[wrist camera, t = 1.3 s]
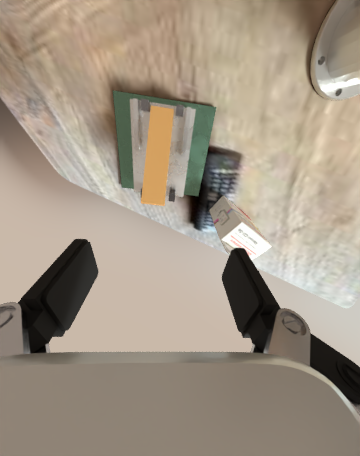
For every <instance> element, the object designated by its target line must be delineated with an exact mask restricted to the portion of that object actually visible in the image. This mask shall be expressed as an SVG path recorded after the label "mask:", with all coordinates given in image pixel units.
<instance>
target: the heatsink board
mask: <svg viewBox="0 0 360 456" xmlns="http://www.w3.org/2000/svg"><path fill="white" fill-rule="evenodd" d="M113 97H114V108H115V119H116V130H117V140H118V151H119V162H120V173H121V184H122V187H123V188H132V189H134V192H141V197H142V188H143V178H144V168H145V158H146V149H147V139H148V129H149V120H150V110H151V106H158V107H164V108H170V109H174V114H173V124H172V135H171V145H170V155H169V165H168V175H167V185H166V195H168V196H169V201H173V202H174V200H175V196H177V197H183V195H193V196H198V195H199V190H200V185H201V180H202V175H203V170H204V166H205V161H206V156H207V151H208V146H209V141H210V136H211V131H212V126H213V121H214V116H215V111H216V107H212V106H206V105H199V104H193V103H187V102H181V101H175V100H169V99H162V98H156V97H150V96H144V95H138V94H132V93H125V92H119V91H113Z"/></svg>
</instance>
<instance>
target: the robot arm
mask: <svg viewBox="0 0 360 456" xmlns="http://www.w3.org/2000/svg"><path fill="white" fill-rule="evenodd" d="M311 79H312V84H313V86H314V88H315V90H316V91H317V93H318V94H319V95H320V96H322V97H323V98H325V99H328V100H343V99H349V98H352V97H354V96H357V95H359V94H360V0H336V1H335V3H334V4H333V6H332V7H331V9H330V10H329V12H328V14H327V16H326V18H325V19H324V21H323V23H322V25H321V28H320V30H319V33H318V35H317V37H316V41H315V44H314V48H313V51H312V57H311ZM97 275H98V268H97V265H96V261H95V258H94V254H93V251H92V247H91V244H90V242H88V241H87V240H86V239H75V240H74V241H73V242H72V243H71V244H70V245H69V246H68V247H67V249H66V250H65V251H64V252H63V253H62V254H61V255H60V257H58V258H57V260H56V261H55V262H54V263H53V264H52V265H51V266H50V267H49V268H48V270H47V271H46V272H45V273H44V274H43V275H42V276H41V277H40V278H39V279H38V281H37V282H36V283H35V284H34V285H33V286H32V287H31V288H30V289H29V290H28V292H27V293H26V294H25V295H24V296H23V297H22V298H21V300H20V301H19V302H18V303H15V302H10V303H4V304H1V305H0V456H360V367H359V366H358V365H356V364H355V363H354V362H352V361H351V360H349V359H348V358H347V357H345V356H343V355H342V354H340V353H339V352H337V351H336V350H335V349H333V348H332V347H330V346H329V345H327V344H326V343H324V342H323V341H321V340H320V339H318V338H317V337H315V336H314V335H312V334H311V333H310V329H309V327H308V325H307V323H306V322H305V320H304V319H303V318H302V317H301V316H299V315H298V314H297V313H295V312H294V311H292V310H290V309H285V308H284V309H281V308H280V307H279V305H278V303H277V302H276V300H275V298H274V296H273V295H272V293H271V291H270V290H269V288H268V286H267V285H266V283H265V281H264V280H263V278H262V276H261V275H260V273H259V271H258V270H257V269H256V267H255V265H254V264H253V262H252V260H251V259H250V257H249V255H248V254H247V252H246V250H245V249H244V248H234V250H231V253H230V256H229V258H228V261H227V264H226V267H225V269H224V272H223V274H222V281H223V284H224V288H225V290H226V294H227V297H228V300H229V303H230V306H231V310H232V313H233V316H234V319H235V322H236V325H237V328H238V330H239V332H241V333H242V336H243V338H251V340H252V343H253V346H252V349H251V352H250V353H246V352H245V353H244V352H66V353H50V349H49V341H50V340H51V338H52V337H62V336H63V334H64V333H65V331H66V330H68V329H69V328H70V327H71V325H72V323H73V321H74V319H75V317H76V315H77V313H78V312H79V310H80V308H81V306H82V304H83V302H84V300H85V298H86V296H87V295H88V293H89V291H90V289H91V287H92V285H93V283H94V281H95V279H96V278H97Z"/></svg>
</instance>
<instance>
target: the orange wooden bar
mask: <svg viewBox="0 0 360 456" xmlns="http://www.w3.org/2000/svg"><path fill="white" fill-rule="evenodd" d="M173 114H174V109H170V108H164V107H158V106H151V110H150V120H149V129H148V139H147V149H146V158H145V168H144V178H143V188H142V197H141V203H143V204H152V205H161V206H164V205H165V195H166V185H167V175H168V165H169V155H170V145H171V135H172V124H173Z"/></svg>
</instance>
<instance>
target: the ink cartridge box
mask: <svg viewBox="0 0 360 456" xmlns="http://www.w3.org/2000/svg"><path fill="white" fill-rule="evenodd" d="M209 211H210V214H211V217H212V219H213V222H214V225H215V228H216V230H217V233H218V236H219V238H220V241H221V242H222V244H223V246H224V248H225V250H226V252H227V253H228V254H230V253H231V250H234V248H244V249H245V250H246V252H247V254H248V255H249V257H250V259H251V260H253V259H255V258H256V257H258V256H259V255H261V254H262V253H264V252H265V251H266V250H268V249H269V248H271V247H272V246H271V245H270V243H269V242H268V241H267V240H266V239H265V237H264V236H263V235H262V234H261V232H260V231H259V230H258V228H257V227H256V226H255V225H254V223H253V222H252V221H251V219H250V218H249V217H248V216H247V215H246V214H245V213H244V212H243V211H241V210H240V209H239V208H238V207H237V206H236V205H234V204H233V203H232V202H231V201H230V200H228V199H227V198H226V197H225V196H222V197H221V198H220V199H219V200H218V201H217V202H216V203H215V205H214V206H213V207H212V208H211V209H210V210H209Z"/></svg>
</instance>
